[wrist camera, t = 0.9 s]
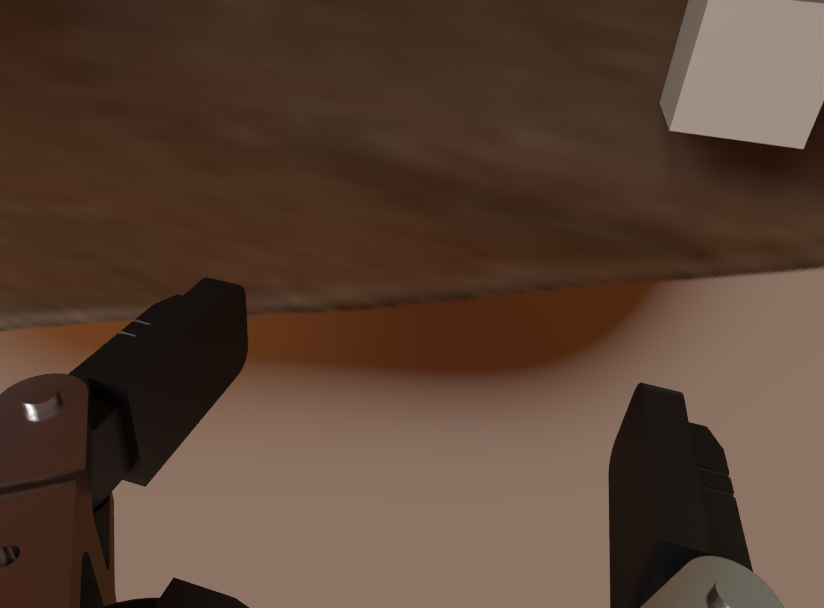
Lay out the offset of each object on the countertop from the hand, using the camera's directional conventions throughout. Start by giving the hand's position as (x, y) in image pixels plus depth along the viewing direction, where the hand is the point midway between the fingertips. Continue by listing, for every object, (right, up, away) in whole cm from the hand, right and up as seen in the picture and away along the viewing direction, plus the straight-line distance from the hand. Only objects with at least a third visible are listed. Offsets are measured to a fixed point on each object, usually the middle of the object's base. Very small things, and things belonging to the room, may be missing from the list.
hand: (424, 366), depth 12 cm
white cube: (+14, +12, +15) cm, 24 cm away
